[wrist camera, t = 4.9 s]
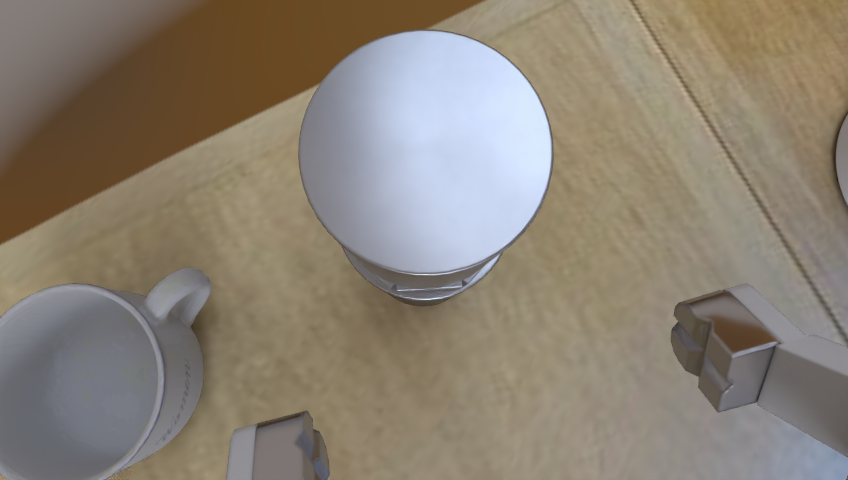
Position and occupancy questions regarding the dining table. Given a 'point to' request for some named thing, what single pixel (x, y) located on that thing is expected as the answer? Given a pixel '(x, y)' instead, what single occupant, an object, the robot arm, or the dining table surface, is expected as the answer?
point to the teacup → (97, 376)
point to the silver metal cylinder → (425, 157)
